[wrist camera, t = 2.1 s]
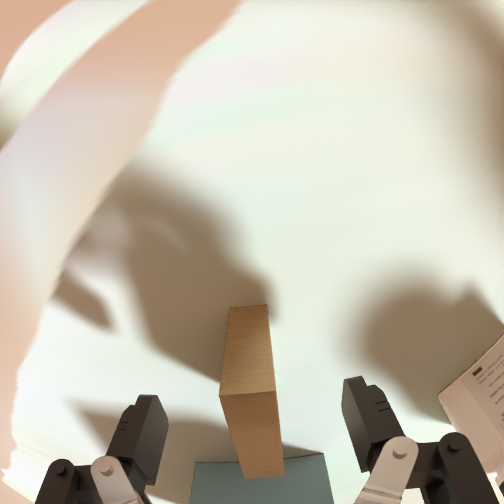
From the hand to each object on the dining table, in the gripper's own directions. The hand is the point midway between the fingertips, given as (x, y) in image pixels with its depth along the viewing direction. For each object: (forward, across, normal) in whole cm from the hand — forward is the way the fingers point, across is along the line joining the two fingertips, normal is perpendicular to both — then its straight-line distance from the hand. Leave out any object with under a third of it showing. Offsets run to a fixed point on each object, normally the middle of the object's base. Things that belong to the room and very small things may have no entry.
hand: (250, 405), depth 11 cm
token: (+4, 0, 0) cm, 4 cm away
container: (+4, -18, +8) cm, 20 cm away
